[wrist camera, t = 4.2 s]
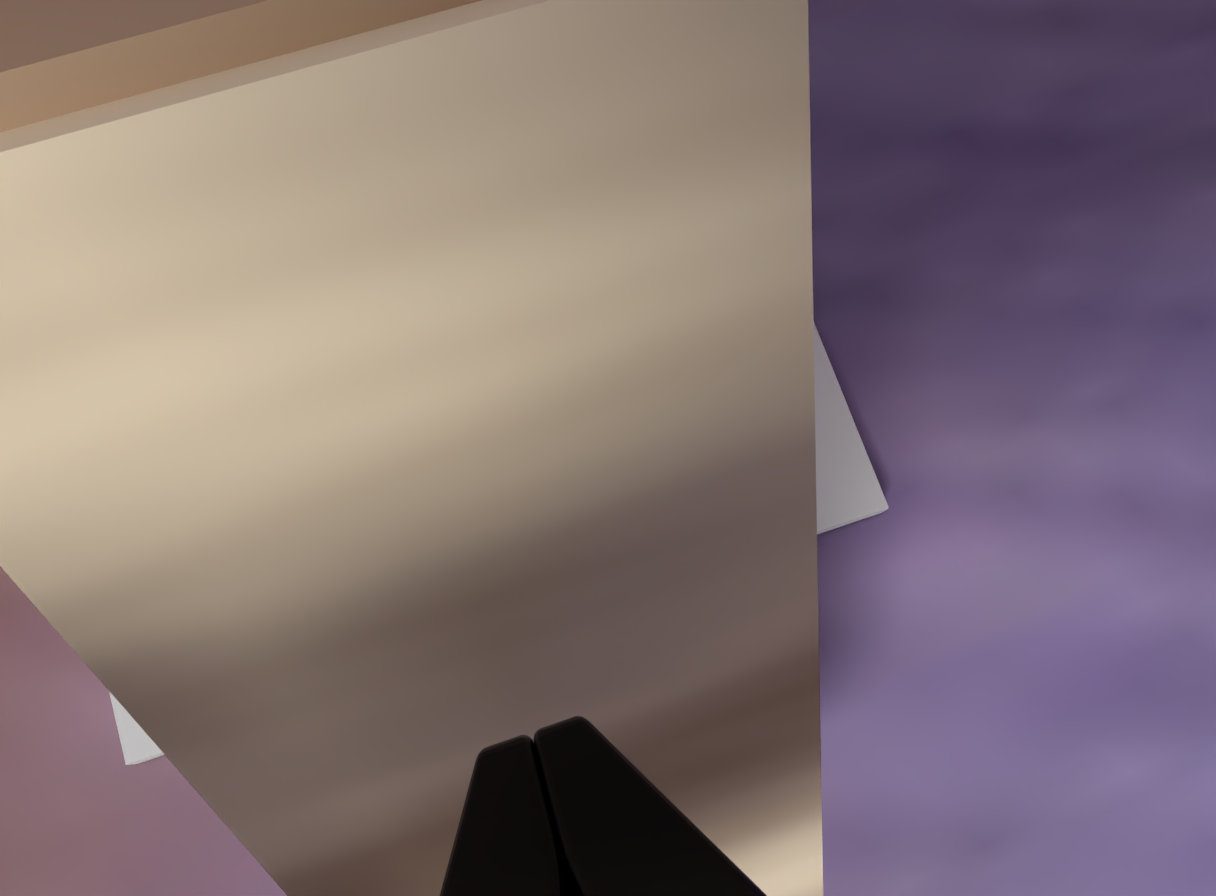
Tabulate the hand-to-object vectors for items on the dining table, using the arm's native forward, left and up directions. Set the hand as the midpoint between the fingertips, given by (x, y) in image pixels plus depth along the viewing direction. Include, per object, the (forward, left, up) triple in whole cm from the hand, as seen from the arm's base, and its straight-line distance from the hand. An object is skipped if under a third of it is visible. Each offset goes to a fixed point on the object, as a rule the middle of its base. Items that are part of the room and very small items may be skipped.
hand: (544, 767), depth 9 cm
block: (0, +1, -7) cm, 7 cm away
